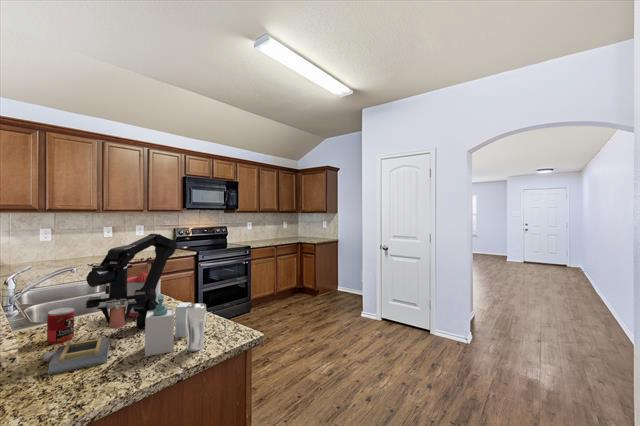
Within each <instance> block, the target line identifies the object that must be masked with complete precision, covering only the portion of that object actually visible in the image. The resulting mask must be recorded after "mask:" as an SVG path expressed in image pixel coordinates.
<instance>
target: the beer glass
mask: <svg viewBox="0 0 640 426" xmlns="http://www.w3.org/2000/svg"><path fill="white" fill-rule="evenodd" d="M185 323H186V330H187V336H186V338H187V339H186V341H187V342H186V346H185V350H186V351H188V352H197V351H200V350H202V349H204V348H205V342H204V341H205V340H204V334H205V328H206V323H207V304H206V303H200V302H199V303H191V305H188V306H187V307H186V317H185Z"/></svg>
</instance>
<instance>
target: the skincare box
mask: <svg viewBox="0 0 640 426" xmlns="http://www.w3.org/2000/svg"><path fill="white" fill-rule="evenodd" d="M191 304H192V302H189V301H188V302H180V303H179V304H178V305H176V306H175V312H174V327H175V328H174V334H175V335H174V338H187V330H186V323H185V317H186V307H187V306H188V305H191Z"/></svg>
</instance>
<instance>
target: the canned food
mask: <svg viewBox="0 0 640 426" xmlns="http://www.w3.org/2000/svg"><path fill="white" fill-rule="evenodd" d="M75 315H76V313H75V308H74V307H61V308H60V307H59V308H55V309H52V310H50V311H48V312H47V316H46V317H47V319H46V324H47V325H46V326H47V327H46V341H47V343H48V344H51V345H54V344H55V345H56V344H61V343H66V342H68V341H70V340H72V339H73V337H74V335H75Z"/></svg>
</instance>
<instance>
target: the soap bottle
mask: <svg viewBox="0 0 640 426" xmlns="http://www.w3.org/2000/svg"><path fill="white" fill-rule="evenodd" d="M164 296H165V295H164V294H163V293H160V294H159V295H158V302H159V305H157V306H156V309H154V310H153V311H147V315H146V322H145V328H144V331H145V332H144V357H150V356H155V355H162V354H167V353H173V352H174V340H175V335H174V334H175V328H174V327H175V310H174V309H175V308H173V307H171V308H167V307H166V304H163V302H164V299H165V298H164Z"/></svg>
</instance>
